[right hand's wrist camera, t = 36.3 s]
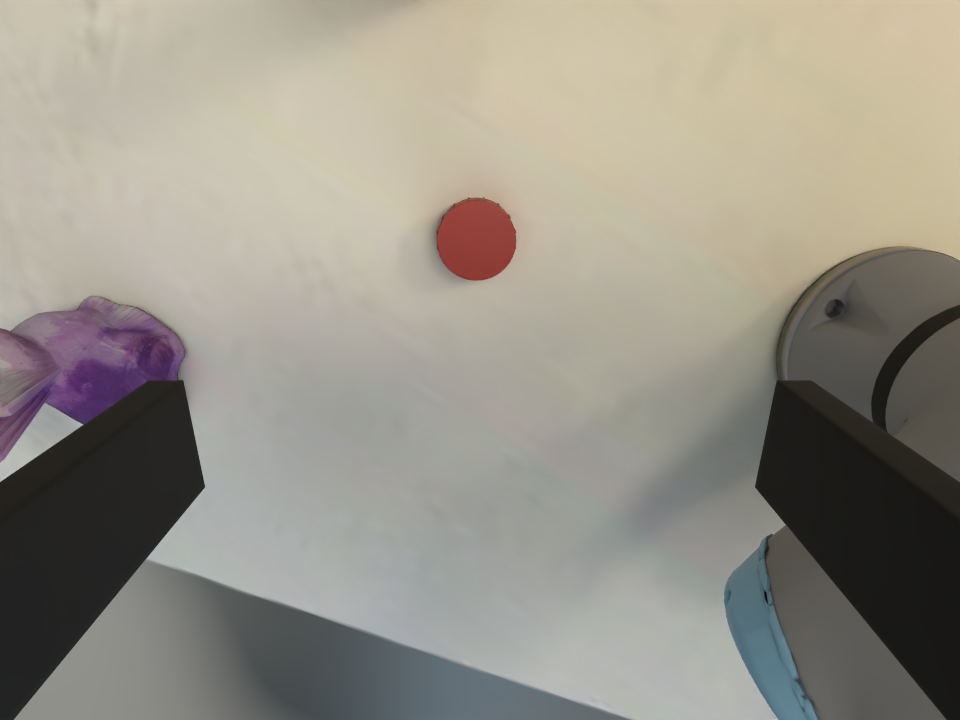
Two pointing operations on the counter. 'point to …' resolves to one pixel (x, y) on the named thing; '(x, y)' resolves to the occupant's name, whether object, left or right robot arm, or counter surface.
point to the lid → (476, 239)
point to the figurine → (80, 362)
